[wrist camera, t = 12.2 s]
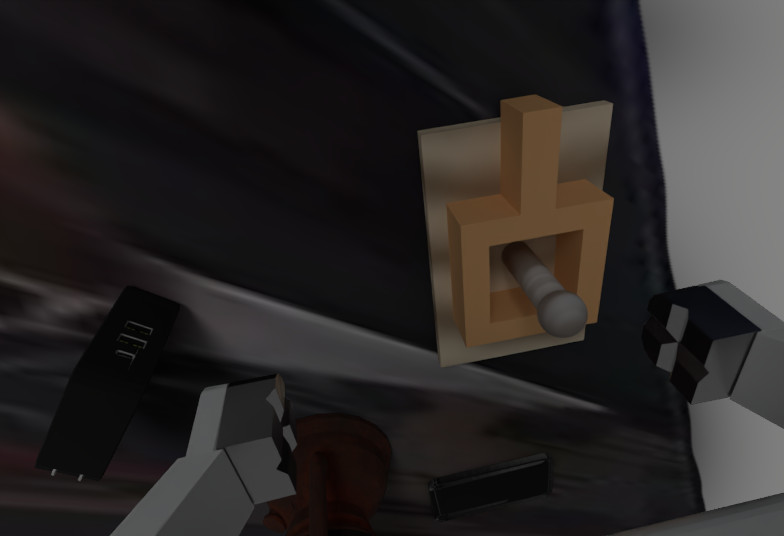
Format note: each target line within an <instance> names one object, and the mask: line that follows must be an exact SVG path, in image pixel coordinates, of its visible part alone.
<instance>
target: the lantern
mask: <svg viewBox="0 0 784 536" xmlns="http://www.w3.org/2000/svg"><path fill="white" fill-rule="evenodd" d="M296 427H297V446H296V447H295V449H294V450H293V451H292V453H293V455H294V458H295V460H296V463H297V489H296V494H294V495H290V496H286V497H282V498H279V499H275V500H271V501H267V503H268V505H269V508H270V511H269V514H267V515H266V516H265V518H264V520H263V523H264V525H265V526H266V527H267V528H269V529H270V530H272V531H274V532H278V533H282V532H284V531H285V529H287V530H288V531H287V533H286V536H376V535H375V534H374V533H373V531H372V528H371V526H370V524H369V522H368V521H369V519H370V518H371V517H372V516H373V515H374V514H375V513H376V511H377V509H378V508H379V506H380V505H381V503H382V500H383V497H384V494H385V489H386V484H387V478H388V472H387V469H388V468H389V466H390V460H391V449H390V446H389V443H388V440H387V437H386V435H385V434H384V433H383V432H382V431H381V430H380V429H379V428H378V427H377V426H376V425H375V424H373V423H371V422H369V421H367V420H365V419H362V418H360V417H357V416H352V415H346V414H341V413H332V414H316V415H312V416H309V417H305V418H301V419H297V420H296Z"/></svg>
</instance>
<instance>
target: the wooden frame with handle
mask: <svg viewBox="0 0 784 536" xmlns="http://www.w3.org/2000/svg"><path fill="white" fill-rule="evenodd" d="M561 120H562V106H560V105H558V104H556V103H553V102H551V101H549V100H547V99H545V98H542V97H540V96H538V95H529V96H523V97H517V98H511V99H505V100H501V175H500V194H497V195H491V196H485V197H479V198H474V199H468V200H462V201H457V202H451V203H446V210H447V225H448V241H449V256H450V271H451V286H452V302H453V317H454V320H455V323H456V325H457V327H458V329H459V332H460V334H461V336H462V339H463V341H464V343H465V346H466V348H468V347H473V346H478V345H483V344H488V343H493V342H499V341H504V340H509V339H514V338H519V337H524V336H529V335H534V334H540V333H545V332H546V331H545V330H544V329H543V328H542V327H541V325H540V324H539V321H538V318H537V310H536V308H535V307H534V305H533V304H532V302H531V301H530V300H529V298H528V297H527V295H526V294H525V293H524V291H523V290H522V288H521V287H517V288H512V289H507V290H501V291H496V292H491V293H490V268H489V246H494V245H499V244H505V243H510V242H516V241H521V240H526V239H532V238H537V237H543V236H548V235H554V234H557V236H556V250H555V264H554V277H555V278H556V279H557V280H558V282H559V283H560V284H561V285H562V286H563V287H564V289H565V290H566V291H570V292H573V293H575V294H576V295H578V296H579V297H580V298H581V299H582V300H583V302H584V303H585V305H586V308H587V312H588V318H587V322H586V324H591V323H596V322H597V317H598V310H599V303H600V295H601V288H602V281H603V274H604V267H605V259H606V252H607V245H608V238H609V231H610V223H611V216H612V209H613V202H614V198H612V197H611V196H609V195H608V194H606V193H605V192H604V191H602V190H601V189H599V188H598V187H596V186H595V185H593V184H592V183H590V182H589V181H587V180H586V179H582V180H577V181H571V182H565V183H559V184H557V179H558V164H559V150H560V135H561ZM586 324H585V325H586Z"/></svg>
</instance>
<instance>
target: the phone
mask: <svg viewBox="0 0 784 536" xmlns="http://www.w3.org/2000/svg"><path fill="white" fill-rule="evenodd" d="M552 485H553V460H552V458H551V456H550V455H549V454H547V453H541V454H537V455H533V456H528V457H524V458H520V459H516V460H511V461H507V462H503V463H499V464H494V465H490V466H486V467H482V468H477V469H473V470H469V471H465V472H460V473H456V474H452V475H448V476H444V477H439V478H436V479H433V480H431V481H430V482H429V484H428V489H429V494H430V499H431V504H432V509H433V514H434V518H435V520H436V521H439V522H443V521H448V520H452V519H456V518H460V517H464V516H468V515H473V514H477V513H481V512H485V511H489V510H493V509H498V508H502V507H506V506H510V505H514V504H519V503H523V502H527V501H531V500H535V499H540V498H544V497H546V496H548V495H549V494H551V492H552Z"/></svg>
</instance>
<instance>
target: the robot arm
mask: <svg viewBox="0 0 784 536" xmlns="http://www.w3.org/2000/svg"><path fill="white" fill-rule="evenodd" d="M647 310H648V311H649V313H650V314H651V315H652V316H651V317H650V318H649V319H648V321H647V322H646V323H645V324H644V325H643V331H642V336H641V337H642V341H643V346H644V349H645V351H646V353H647V355H648V357H649V358H650V359H651V360H652V362H653V363H654V364H655V365H656V366H658V367H660V368H662V369H664V370H667V371H669V372H670V382H671V383H672V384H673V385H674V386H675V388H676V389H677V390H678V391H679V392H680V393H681V394H682V395H683V396H684V398H685V399H686V400H687V401H688V402H689V403H690V404H691V405H692V404H697V403H702V402H707V401H712V400H717V399H722V398H727V397H730V399H731V400H732V401H734V402H736V403H738V404H740V405H742V406H743V407H745V408H747V409H749V410H751V411H752V412H754V413H756V414H758V415H760V416H762V417H763V418H765V419H767V420H769V421H771V422H772V423H774V424H777V425H778V426H780V427H782V428H783V429H784V322H783V321H781V320H780V319H779V318H778V317H776V316H775V315H773V314H772V313H771V312H769V311H768V310H767V309H765V308H764V307H762V306H761V305H760V304H758V303H757V302H756V301H754V300H753V299H752V298H750V297H749V296H747V295H746V294H745V293H743V292H742V291H741V290H739V289H738V288H736V287H735V286H734V285H732V284H731V283H730V282H727V281H723V280H718V281H714V282H709V283H704V284H700V285H697V286H692V287H687V288H683V289H678V290H673V291H669V292H664V293H659V294H655V295H653V297H652V298H651V299H650V300H649V304H648V308H647ZM284 395H285V385H284V383H283V380H282V378H281V376H280V375H279V374H273V375H268V376H262V377H257V378H252V379H246V380H241V381H235V382H230V383H228V384H222V385H217V386H211V387H205V389H204V390H203V392H202V393H201V395H200V399H199V404H198V408H197V412H196V416H195V420H194V424H193V428H192V433H191V437H190V441H189V445H188V449H187V453H186V457H183V458H179V459H177V460H176V461H175V463H174V464H173V465H172V466H171V467H170V468H169V469H168V471H167V472H166V473H165V474H164V475H163V476H162V477H161V478H160V480H159V481H158V482H157V483H156V484H155V485H154V486H153V488H152V489H151V490H150V491H149V492H148V493H147V494H146V495H145V497H144V498H143V499H142V500H141V501H140V502H139V503H138V505H137V506H136V507H135V508H134V509H133V510H132V511H131V512H130V514H129V515H128V516H127V517H126V518H125V519H124V520H123V522H122V523H121V524H120V525H119V526H118V527H117V528H116V529H115V531H114V532H113V533H112V534H111V535H110V536H239V534H240V532H241V531H242V529H243V527H244V525H245V523H246V522H247V520H248V518H249V516H250V514H251V513H252V511H253V509H254V505H255V504H259V503H263V502H267V501H271V500H275V499H279V498H282V497H286V496H290V495H294V494H296V489H297V463H296V460H295V458H294V455H293V453H292V451H293V450H294V449H295V447H296V446H297V427H296V419H295V414H294V410H293V407H292V404H291V401H290V400H289V399H287V398H285V397H284ZM606 536H784V493H780V494H776V495H772V496H768V497H764V498H760V499H756V500H752V501H748V502H743V503H739V504H735V505H731V506H727V507H722V508H718V509H714V510H710V511H706V512H702V513H698V514H693V515H689V516H685V517H681V518H677V519H673V520H669V521H664V522H660V523H656V524H652V525H648V526H644V527H640V528H635V529H631V530H627V531H623V532H619V533H615V534H611V535H606Z"/></svg>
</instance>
